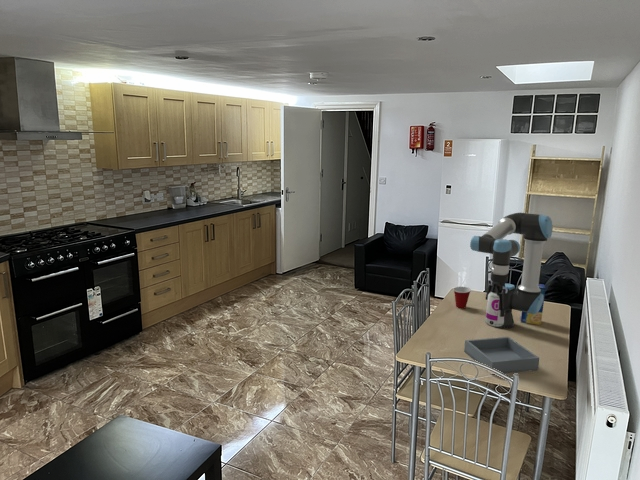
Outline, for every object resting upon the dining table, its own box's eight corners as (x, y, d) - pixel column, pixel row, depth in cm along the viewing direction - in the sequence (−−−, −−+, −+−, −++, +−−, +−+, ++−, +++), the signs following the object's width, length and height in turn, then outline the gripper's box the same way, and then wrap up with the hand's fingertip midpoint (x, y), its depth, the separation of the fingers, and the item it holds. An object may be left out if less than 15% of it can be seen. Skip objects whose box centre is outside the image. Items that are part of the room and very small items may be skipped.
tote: (507, 347, 245) (508, 336, 243) (538, 369, 222) (539, 357, 221) (464, 351, 239) (465, 340, 238) (491, 374, 217) (492, 362, 215)
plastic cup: (448, 304, 307) (450, 286, 304) (465, 303, 308) (466, 285, 306) (455, 310, 296) (457, 291, 294) (472, 309, 298) (474, 291, 295)
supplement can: (504, 327, 224) (508, 297, 220) (486, 326, 225) (489, 295, 222) (502, 321, 231) (505, 291, 228) (484, 319, 233) (487, 290, 230)
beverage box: (519, 318, 286) (523, 282, 281) (539, 320, 283) (544, 284, 278) (520, 322, 279) (524, 285, 275) (541, 324, 276) (545, 287, 271)
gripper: (480, 267, 232) (476, 311, 237) (505, 279, 212) (500, 328, 217) (494, 266, 234) (490, 310, 239) (520, 279, 214) (515, 327, 219)
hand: (495, 319), depth 228 cm, fingers closed on supplement can, 8 cm apart
